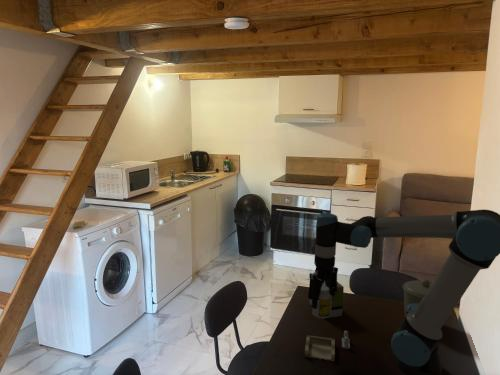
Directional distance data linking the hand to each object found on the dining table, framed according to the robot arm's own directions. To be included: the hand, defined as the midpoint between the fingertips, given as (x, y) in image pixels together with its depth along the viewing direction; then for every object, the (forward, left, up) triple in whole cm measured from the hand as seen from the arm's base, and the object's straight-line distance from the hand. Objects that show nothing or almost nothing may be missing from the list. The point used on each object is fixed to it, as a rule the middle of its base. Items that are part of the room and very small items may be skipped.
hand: (321, 312), depth 143 cm
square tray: (0, 0, -16) cm, 16 cm away
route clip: (-3, -12, -16) cm, 20 cm away
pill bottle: (0, 0, -1) cm, 1 cm away
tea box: (+21, -27, -16) cm, 38 cm away
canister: (-13, -52, -16) cm, 56 cm away
